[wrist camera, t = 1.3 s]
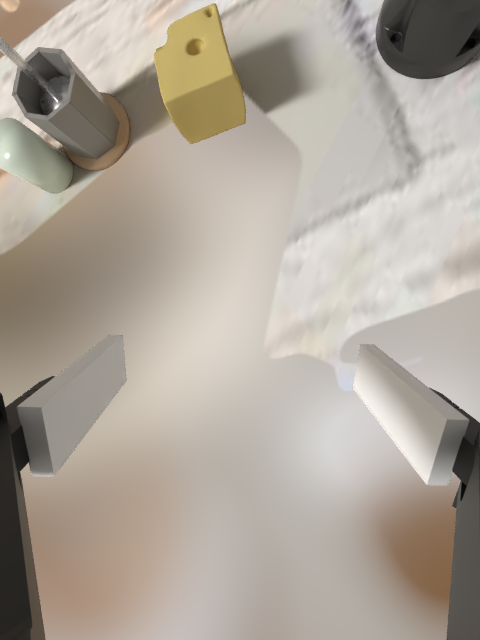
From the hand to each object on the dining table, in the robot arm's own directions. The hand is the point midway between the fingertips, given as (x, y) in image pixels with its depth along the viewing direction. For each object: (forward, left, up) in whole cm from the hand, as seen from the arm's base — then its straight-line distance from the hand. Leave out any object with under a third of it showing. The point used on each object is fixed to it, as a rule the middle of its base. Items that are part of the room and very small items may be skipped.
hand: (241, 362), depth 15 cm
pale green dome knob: (-18, -47, -30) cm, 59 cm away
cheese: (-33, -19, -30) cm, 49 cm away
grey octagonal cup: (-26, -39, -30) cm, 56 cm away
